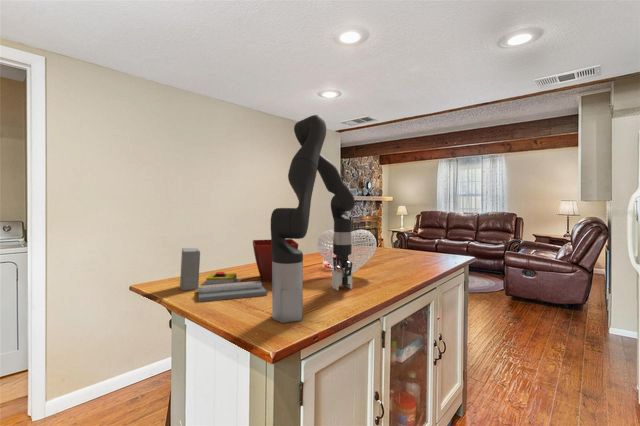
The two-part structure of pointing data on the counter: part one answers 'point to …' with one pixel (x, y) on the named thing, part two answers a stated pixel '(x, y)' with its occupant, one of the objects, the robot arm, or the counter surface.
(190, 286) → the skincare box
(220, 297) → the rail board
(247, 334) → the counter surface
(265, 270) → the plant pot
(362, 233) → the heart
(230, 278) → the emergency button
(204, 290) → the rail
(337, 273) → the block
